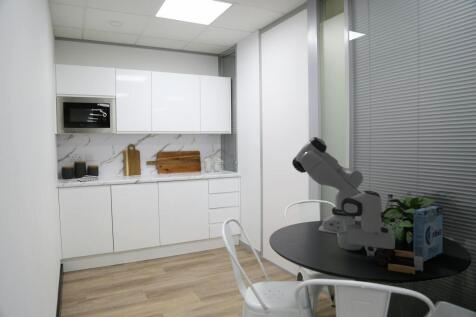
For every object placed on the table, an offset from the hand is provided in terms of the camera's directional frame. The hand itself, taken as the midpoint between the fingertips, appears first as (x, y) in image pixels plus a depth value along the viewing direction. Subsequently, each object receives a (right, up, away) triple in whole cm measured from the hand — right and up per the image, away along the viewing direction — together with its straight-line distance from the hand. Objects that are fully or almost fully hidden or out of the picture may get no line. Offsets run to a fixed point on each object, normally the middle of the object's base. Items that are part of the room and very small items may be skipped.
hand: (370, 255), depth 151 cm
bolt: (+6, -2, -3) cm, 7 cm away
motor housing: (+13, -2, -6) cm, 14 cm away
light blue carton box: (+29, -2, +3) cm, 29 cm away
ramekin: (-3, -1, +18) cm, 18 cm away
